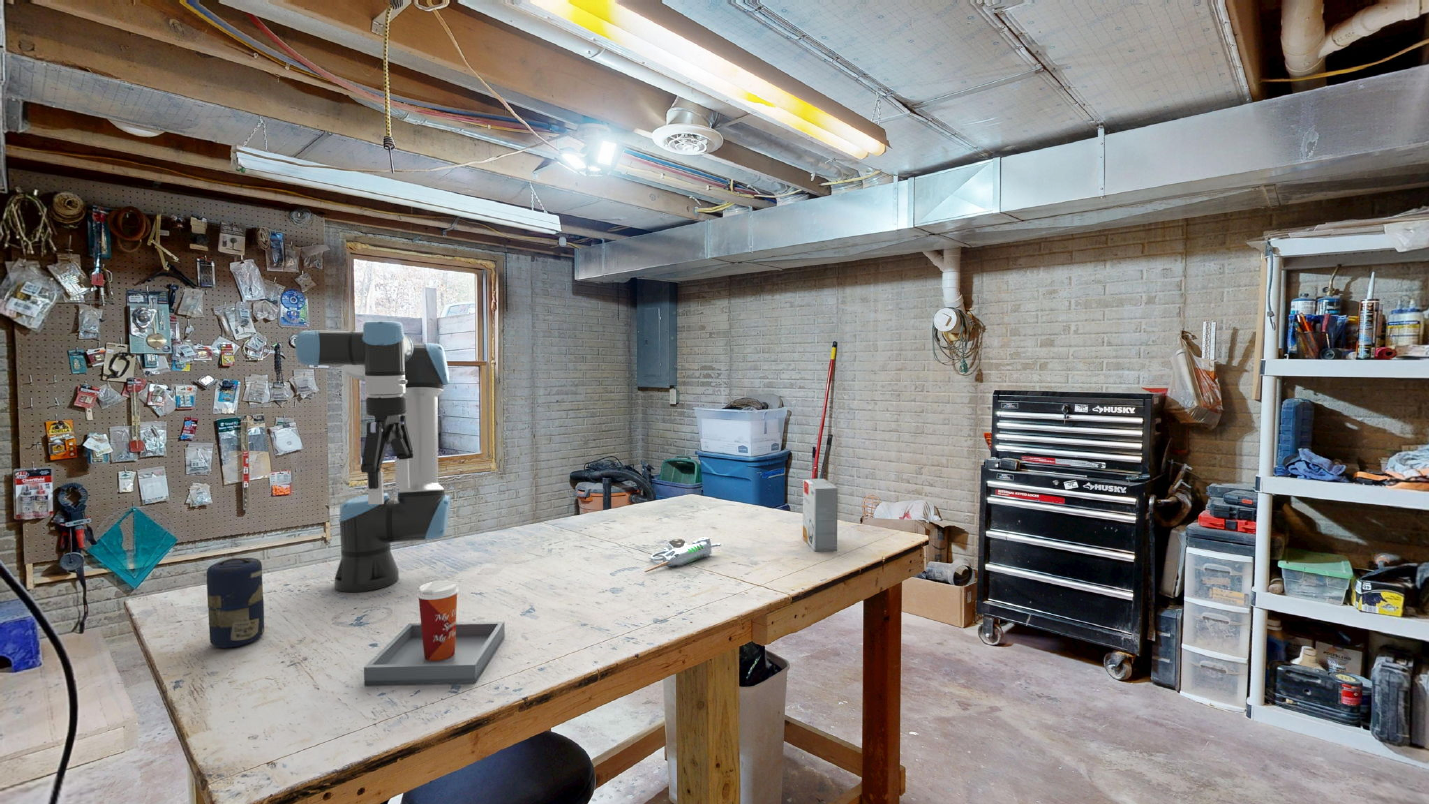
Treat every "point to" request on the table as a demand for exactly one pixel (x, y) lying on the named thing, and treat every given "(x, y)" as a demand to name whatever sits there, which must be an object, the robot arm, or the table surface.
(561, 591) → the table surface
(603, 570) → the table surface
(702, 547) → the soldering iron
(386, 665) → the tray
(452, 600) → the paper cup
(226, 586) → the canister
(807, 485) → the hard drive box
